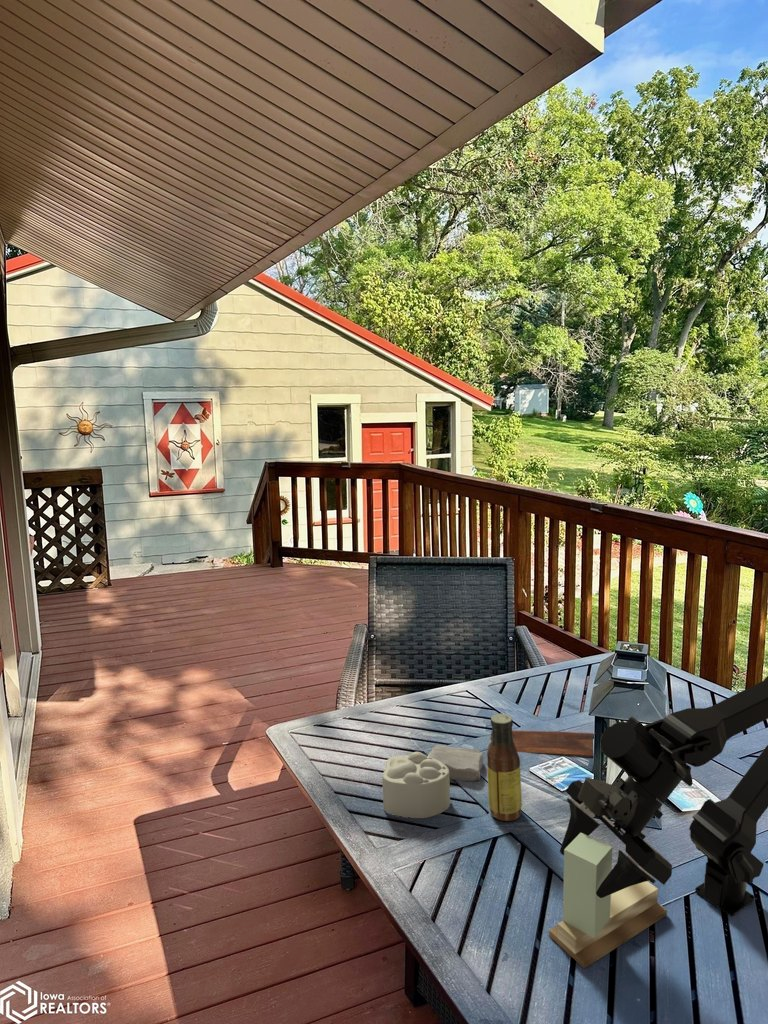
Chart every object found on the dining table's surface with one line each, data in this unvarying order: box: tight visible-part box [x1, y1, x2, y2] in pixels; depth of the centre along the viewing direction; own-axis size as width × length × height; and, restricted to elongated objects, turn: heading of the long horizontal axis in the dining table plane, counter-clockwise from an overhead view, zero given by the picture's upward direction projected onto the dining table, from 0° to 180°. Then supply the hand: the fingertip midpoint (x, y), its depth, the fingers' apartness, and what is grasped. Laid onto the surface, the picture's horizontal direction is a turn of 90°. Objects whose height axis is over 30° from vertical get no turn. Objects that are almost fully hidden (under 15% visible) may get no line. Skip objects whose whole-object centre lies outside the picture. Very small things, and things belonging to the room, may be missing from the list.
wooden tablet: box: [489, 730, 595, 758], centre depth 158 cm, size 26×2×10 cm
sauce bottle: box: [486, 713, 523, 822], centre depth 132 cm, size 6×6×20 cm
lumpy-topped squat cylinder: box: [381, 751, 451, 819], centre depth 138 cm, size 10×13×9 cm
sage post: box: [562, 833, 613, 938], centre depth 102 cm, size 5×5×12 cm
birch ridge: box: [548, 881, 668, 969], centre depth 106 cm, size 18×7×4 cm, turn 121°
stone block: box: [426, 744, 484, 783], centre depth 150 cm, size 12×5×10 cm
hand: (579, 874), depth 101 cm, fingers open, 9 cm apart
